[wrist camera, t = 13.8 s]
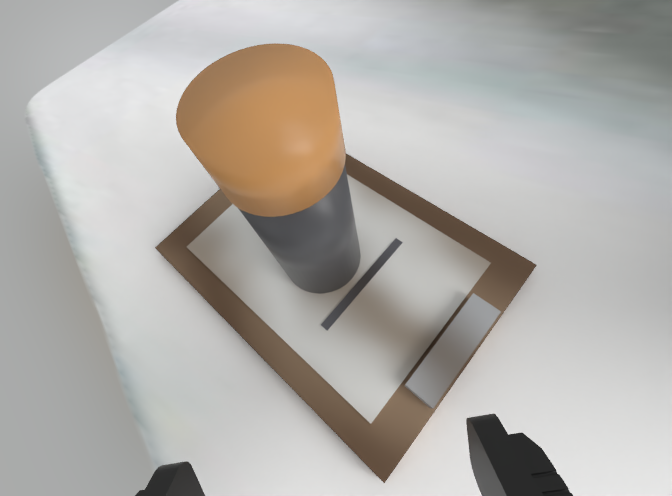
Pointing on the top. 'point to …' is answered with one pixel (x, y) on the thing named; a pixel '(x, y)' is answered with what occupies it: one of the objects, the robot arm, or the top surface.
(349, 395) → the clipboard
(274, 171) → the orange-capped grey cylinder
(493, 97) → the top surface
